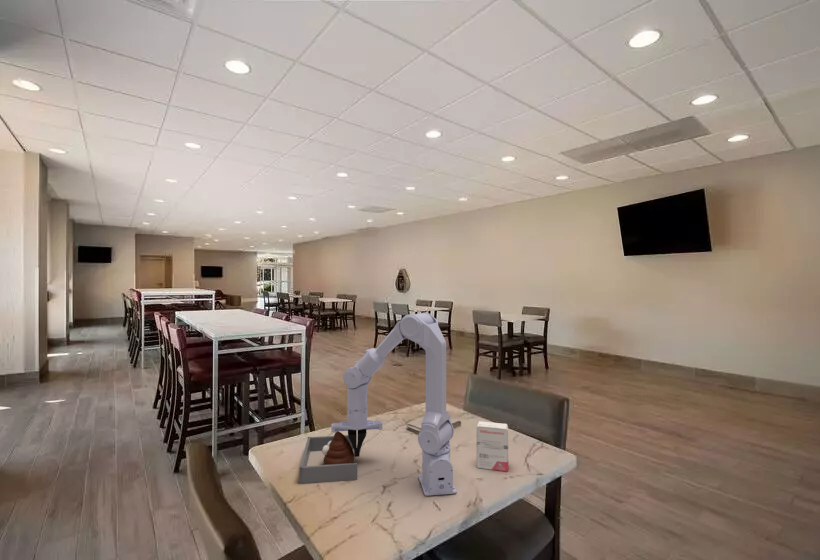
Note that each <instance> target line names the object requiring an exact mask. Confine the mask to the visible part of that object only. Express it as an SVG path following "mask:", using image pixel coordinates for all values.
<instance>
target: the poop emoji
mask: <svg viewBox="0 0 820 560" xmlns="http://www.w3.org/2000/svg"><path fill="white" fill-rule="evenodd" d="M344 435H345V434H344V433H342V431H335V432H334V434H333V436H334V437H333V440H332V441H329V442H328V444H327V445H325V446H324V447H323V448H322V451H321V453H322V454H323V455H324V457H323V465H332V464H347V463H353V462H354V460H355V455H354V449H353V448H352V446H351V445H350V442H349V441H348V440H347V438H346V437H345V436H344Z"/></svg>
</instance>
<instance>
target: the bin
mask: <svg viewBox="0 0 820 560" xmlns="http://www.w3.org/2000/svg"><path fill="white" fill-rule="evenodd" d="M343 435H344V436H345V437H346V438H347V440H348V441H349V442H350V445H351V446H352V443H351V441H350V439H349V437H348V434H343ZM333 437H334V435H324V436H323V435H322V436H307V439H306V443H305V446H304V450H303V454H302V458H301V461H300V464H299V467H298V469H299V470H298V475H299V476H298V484H299V485H301V484H303V485H304V484H316V483H326V482H328V483H329V482H331V483H332V482H341V481H356V480H358V466H359V465H358V462H351V463H347V464H332V465H324V464H321V465H319V464H318V465H308V463H309V462H308V461H309V458H310V453H311V452H317V451H318V452H320V451H321V452H322V448H323V447H324V446H325V445H327V444H328V442H329V441H332V440H333ZM352 448H353V446H352Z"/></svg>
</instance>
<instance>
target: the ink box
mask: <svg viewBox="0 0 820 560" xmlns="http://www.w3.org/2000/svg"><path fill="white" fill-rule="evenodd" d="M476 468H477V469H483V470H493V471H499V472H500V471H501V472H509V426H508V423H499V422H491V421H482V420H478V422H477V424H476Z"/></svg>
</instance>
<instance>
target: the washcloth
mask: <svg viewBox="0 0 820 560" xmlns="http://www.w3.org/2000/svg"><path fill="white" fill-rule="evenodd" d="M450 419H451V423H452V426H453V428H454V429H457V428H459V427H461V426H462V421H461V420H459V419H456V418H451V417H450ZM422 420H423V417H422V418H419V419H416V420H414V421H410V422H408V423H406V430H408V431H409V432H412V433H413V434H415V435H417V436H418V435H419V433H420V431H421V423H422Z"/></svg>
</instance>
